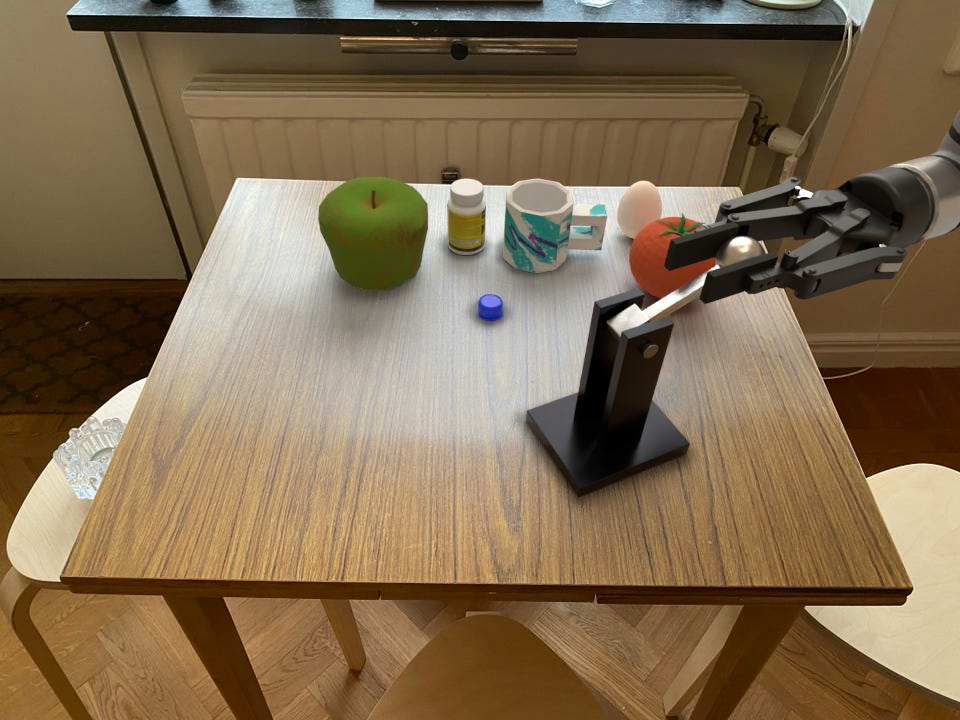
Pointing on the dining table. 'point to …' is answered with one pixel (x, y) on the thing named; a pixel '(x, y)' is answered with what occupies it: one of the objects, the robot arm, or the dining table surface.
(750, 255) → the lever
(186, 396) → the dining table surface
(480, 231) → the supplement bottle
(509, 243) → the mug
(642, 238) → the tomato
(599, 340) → the tap bracket
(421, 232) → the apple
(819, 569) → the dining table surface
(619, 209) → the egg
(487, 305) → the bottle cap
